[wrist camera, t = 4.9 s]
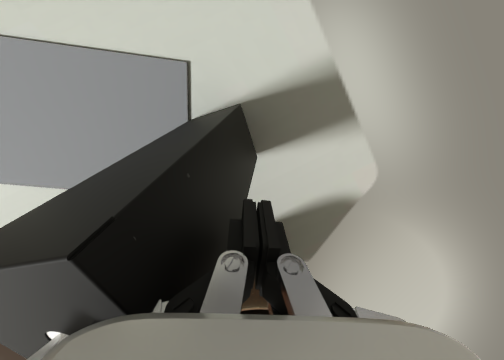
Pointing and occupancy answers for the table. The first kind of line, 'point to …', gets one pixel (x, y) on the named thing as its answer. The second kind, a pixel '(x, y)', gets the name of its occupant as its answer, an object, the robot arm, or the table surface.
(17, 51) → the mat
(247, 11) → the table surface
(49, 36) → the table surface
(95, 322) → the robot arm
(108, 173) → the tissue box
